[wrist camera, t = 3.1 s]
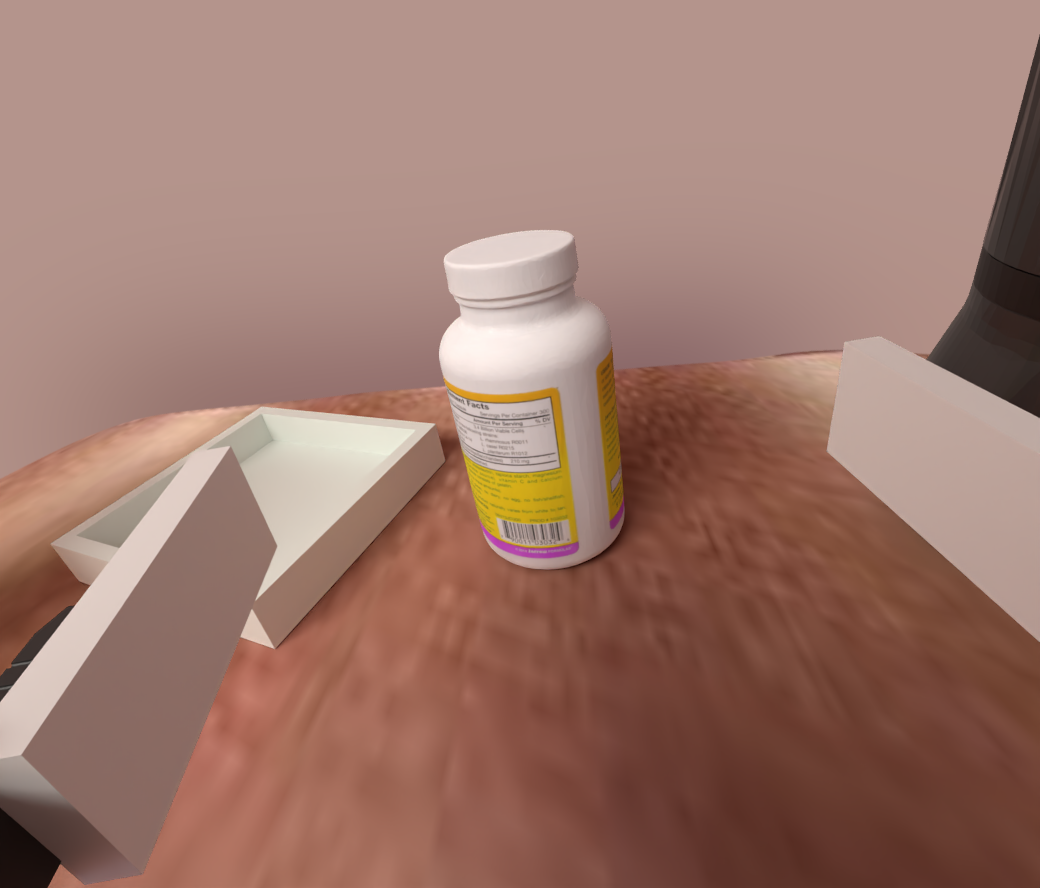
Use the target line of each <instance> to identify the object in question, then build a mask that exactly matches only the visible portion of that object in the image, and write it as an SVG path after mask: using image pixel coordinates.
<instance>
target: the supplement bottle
mask: <svg viewBox="0 0 1040 888" xmlns="http://www.w3.org/2000/svg"><path fill="white" fill-rule="evenodd" d="M444 266H445V271H446V275H447V281H448V288H449V291H450V293H451V294H452V295H454V298H455V300H456V302H458V303H459V304H460V311H461V316H460V317H459V318H457V319H456V320H455V321H454V322H453V323H452V324H451V325H450V326H449V328H448V329H447V330H446V332H445V334H444V336H443V338H442V341H441V344H440V348H439V359H440V364H441V369H442V373H443V377H444V381H445V385H446V388H447V392H448V396H449V400H450V404H451V408H452V412H453V416H454V420H455V424H456V428H457V432H458V436H459V439H460V444H461V448H462V452H463V456H464V460H465V464H466V468H467V472H468V475H469V480H470V484H471V488H472V492H473V496H474V499H475V503H476V508H477V511H478V515H479V519H480V523H481V527H482V530H483V533H484V536H485V538H486V540H487V542H488V544H489V545H490V547H491V548H492V549H493V550H494V551H495V552H496V553H497V554H498V555H500V556H501V557H503V558H504V559H506V560H508V561H509V562H511V563H514V564H516V565H519V566H523V567H526V568H532V569H545V570H550V569H560V568H566V567H570V566H574V565H577V564H580V563H582V562H585V561H587V560H589V559H591V558H593V557H595V556H597V555H598V554H600V553H601V552H602V551H604V550H605V549H606V548H607V547H609V546H610V544H611V543H612V542H613V541H614V540H615V539H616V537H617V536H618V534H619V532H620V530H621V528H622V525H623V521H624V513H625V511H624V493H623V481H622V468H621V455H620V444H619V431H618V419H617V406H616V395H615V381H614V368H613V353H612V342H611V331H610V327H609V324H608V321H607V319H606V317H605V316H604V314H603V313H602V311H601V310H600V309H599V308H598V307H597V306H596V305H594V304H593V303H592V302H590V301H588V300H586V299H584V298H581V297H578V296H575V291H574V286H573V283H574V282H575V280H576V273H577V270H578V261H577V253H576V246H575V239H574V237H573V235H572V234H570V233H568V232H565V231H560V230H532V231H522V232H514V233H508V234H502V235H497V236H493V237H488V238H484V239H480V240H477V241H474V242H471V243H468V244H465V245H463V246H460V247H458V248H456V249H454V250H452V251H451V252H449V253H448V254H447V255H446V256H445V258H444Z"/></svg>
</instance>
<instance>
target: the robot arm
mask: <svg viewBox="0 0 1040 888" xmlns="http://www.w3.org/2000/svg"><path fill="white" fill-rule="evenodd" d="M983 242H984V243H983V247H982V251H981V254H980V258H979V262H978V265H977V269H976V272H975V276H974V280H973V283H972V286H971V290H970V293H969V296H968V298H967V300H966V302H965V304H964V306H963V307H962V309H961V310H960V312H959V313H958V315H957V316H956V317H955V319H954V320H953V322H952V323H951V325H950V326H949V328H948V329H947V330H946V332H945V333H944V335H943V336H942V338H941V339H940V341H939V342H938V344H937V345H936V347H935V348H934V349H933V351H932V352H931V354H930V355H929V357H928V358H927V359H924V358H922V357H920V356H918V355H916V354H914V353H912V352H910V351H908V350H906V349H904V348H902V347H900V346H898V345H896V344H894V343H892V342H890V341H889V340H887V339H885V338H883V337H881V336H877V337H871V338H865V339H859V340H853V341H847V342H845V343H844V349H843V355H842V361H841V367H840V373H839V379H838V385H837V391H836V397H835V403H834V409H833V416H832V422H831V428H830V434H829V440H828V446H827V452H828V453H829V454H830V455H831V456H832V457H833V458H835V459H836V460H837V461H838V462H839V463H840V464H841V465H842V466H844V467H845V468H846V469H847V470H848V471H849V472H850V473H851V474H852V475H854V476H855V477H856V478H857V479H858V480H859V481H860V482H861V483H863V484H864V485H865V486H866V487H867V488H868V489H869V490H870V491H871V492H873V493H874V494H875V495H876V496H877V497H878V498H879V499H880V500H881V501H883V502H884V503H885V504H886V505H887V506H888V507H889V508H890V509H892V510H893V511H894V512H895V513H896V514H897V515H898V516H899V517H900V518H902V519H903V520H904V521H905V522H906V523H907V524H908V525H909V526H910V527H912V528H913V529H914V530H915V531H916V532H917V533H918V534H919V535H921V536H922V537H923V538H924V539H925V540H926V541H927V542H928V543H929V544H931V545H932V546H933V547H934V548H935V549H936V550H937V551H938V552H939V553H941V554H942V555H943V556H944V557H945V558H946V559H947V560H948V561H950V562H951V563H952V564H953V565H954V566H955V567H956V568H957V569H958V570H960V571H961V572H962V573H963V574H964V575H965V576H966V577H967V578H969V579H970V580H971V581H972V582H973V583H974V584H975V585H976V586H977V587H979V588H980V589H981V590H982V591H983V592H984V593H985V594H986V595H987V596H989V597H990V598H991V599H992V600H993V601H994V602H995V603H996V604H998V605H999V606H1000V607H1001V608H1002V609H1003V610H1004V611H1005V612H1006V613H1008V614H1009V615H1010V616H1011V617H1012V618H1013V619H1014V620H1015V621H1016V622H1018V623H1019V624H1020V625H1021V626H1022V627H1023V628H1024V629H1025V630H1027V631H1028V632H1029V633H1030V634H1031V635H1032V636H1033V637H1034V638H1035V639H1037V640H1038V641H1039V642H1040V37H1039V40H1038V44H1037V47H1036V51H1035V55H1034V59H1033V62H1032V66H1031V70H1030V74H1029V78H1028V81H1027V85H1026V89H1025V93H1024V96H1023V100H1022V104H1021V108H1020V112H1019V115H1018V119H1017V123H1016V127H1015V130H1014V134H1013V138H1012V142H1011V145H1010V149H1009V152H1008V156H1007V159H1006V163H1005V167H1004V170H1003V174H1002V177H1001V181H1000V184H999V188H998V192H997V195H996V198H995V202H994V206H993V209H992V213H991V216H990V220H989V223H988V227H987V230H986V234H985V237H984V241H983ZM276 549H277V544H276V542H275V540H274V537H273V535H272V533H271V531H270V529H269V527H268V525H267V522H266V520H265V518H264V516H263V514H262V512H261V510H260V507H259V505H258V503H257V501H256V499H255V497H254V495H253V492H252V490H251V488H250V486H249V484H248V482H247V479H246V477H245V475H244V473H243V471H242V469H241V467H240V464H239V462H238V460H237V458H236V456H235V454H234V452H233V449H232V447H231V446H227V447H221V448H215V449H209V450H203V451H197V452H194V453H193V454H192V455H191V457H190V458H189V459H188V461H187V462H186V463H185V465H184V466H183V467H182V468H181V470H180V471H179V472H178V474H177V475H176V476H175V477H174V479H173V480H172V481H171V483H170V484H169V485H168V486H167V488H166V489H165V490H164V492H163V493H162V494H161V495H160V497H159V498H158V499H157V501H156V502H155V503H154V505H153V506H152V507H151V508H150V510H149V511H148V512H147V514H146V515H145V516H144V517H143V519H142V520H141V521H140V523H139V524H138V525H137V526H136V528H135V529H134V530H133V532H132V533H131V534H130V535H129V537H128V538H127V539H126V541H125V542H124V543H123V544H122V546H121V547H120V548H119V550H118V551H117V552H116V554H115V555H114V556H113V557H112V559H111V560H110V561H109V563H108V564H107V565H106V566H105V568H104V569H103V570H102V572H101V573H100V574H99V575H98V577H97V578H96V579H95V581H94V582H93V583H92V584H91V586H90V587H89V588H88V590H87V591H86V592H85V594H84V595H83V596H82V597H81V599H80V600H79V601H78V603H77V604H76V605H74V606H68V607H67V608H66V609H64V610H63V611H62V612H61V613H59V614H58V615H57V616H56V617H55V618H53V619H52V620H51V621H50V622H49V623H47V624H46V625H45V626H44V627H43V628H41V629H40V630H39V631H38V632H36V633H35V634H34V636H33V637H32V638H31V639H30V641H29V642H28V643H27V644H26V645H25V647H24V648H23V649H22V650H21V652H20V653H19V654H18V655H17V657H16V658H15V659H14V660H13V661H12V663H11V664H12V667H11V668H9V669H6V670H5V671H4V673H3V674H2V675H1V676H0V888H48V886H49V884H50V882H51V880H52V878H53V876H54V874H55V872H56V870H57V869H58V867H59V865H60V864H61V865H62V866H64V867H65V868H66V869H67V870H68V871H69V872H71V873H72V874H73V875H74V876H75V877H76V878H77V879H79V880H80V881H81V882H82V883H83V884H84V885H87V884H92V883H98V882H103V881H109V880H114V879H120V878H125V877H131V876H136V875H142V874H143V873H144V870H145V868H146V865H147V863H148V860H149V858H150V855H151V853H152V851H153V848H154V846H155V843H156V841H157V838H158V836H159V834H160V831H161V829H162V826H163V824H164V821H165V819H166V817H167V814H168V812H169V809H170V807H171V804H172V802H173V799H174V797H175V795H176V792H177V790H178V787H179V785H180V782H181V780H182V778H183V775H184V773H185V770H186V768H187V765H188V763H189V761H190V758H191V756H192V753H193V751H194V748H195V746H196V743H197V741H198V739H199V736H200V734H201V731H202V729H203V726H204V724H205V722H206V719H207V717H208V714H209V712H210V709H211V707H212V705H213V702H214V700H215V697H216V695H217V692H218V690H219V687H220V685H221V683H222V680H223V678H224V675H225V673H226V670H227V668H228V666H229V663H230V661H231V658H232V656H233V653H234V651H235V649H236V646H237V644H238V641H239V639H240V636H241V634H242V632H243V629H244V627H245V624H246V622H247V619H248V617H249V614H250V612H251V610H252V607H253V605H254V602H255V600H256V597H257V595H258V593H259V590H260V588H261V585H262V583H263V580H264V578H265V576H266V573H267V571H268V568H269V566H270V563H271V561H272V558H273V556H274V554H275V551H276Z"/></svg>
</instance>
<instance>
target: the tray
mask: <svg viewBox="0 0 1040 888" xmlns="http://www.w3.org/2000/svg"><path fill="white" fill-rule="evenodd" d="M227 446H231V447H232V449H233V452H234V454H235V456H236V458H237V460H238V462H239V464H240V467H241V469H242V471H243V473H244V475H245V477H246V479H247V482H248V484H249V486H250V488H251V490H252V492H253V495H254V497H255V499H256V501H257V503H258V505H259V507H260V510H261V512H262V514H263V516H264V518H265V520H266V522H267V525H268V527H269V529H270V531H271V533H272V535H273V537H274V540H275V542H276V544H277V549H276V551H275V554H274V556H273V558H272V561H271V563H270V566H269V568H268V571H267V573H266V576H265V578H264V580H263V583H262V585H261V588H260V590H259V593H258V595H257V597H256V600H255V602H254V605H253V607H252V610H251V612H250V614H249V617H248V619H247V622H246V624H245V627H244V629H243V632H242V634H241V636H240V637H242V638H245V639H248V640H250V641H253V642H256V643H259V644H262V645H265V646H268V647H271V648H274V649H276V647H277V646H278V645H279V644H280V643H281V642H282V641H283V640H284V639H285V637H286V636H287V635H288V634H289V633H290V632H291V631H292V630H293V629H294V628H295V626H296V625H297V624H298V623H299V622H300V621H301V620H302V619H303V618H304V617H305V615H306V614H307V613H308V612H309V611H310V610H311V609H312V608H313V607H314V605H315V604H316V603H317V602H318V601H319V600H320V599H321V598H322V597H323V596H324V594H325V593H326V592H327V591H328V590H329V589H330V588H331V587H332V586H333V585H334V583H335V582H336V581H337V580H338V579H339V578H340V577H341V576H342V575H343V574H344V572H345V571H346V570H347V569H348V568H349V567H350V566H351V565H352V564H353V562H354V561H355V560H356V559H357V558H358V557H359V556H360V555H361V554H362V553H363V551H364V550H365V549H366V548H367V547H368V546H369V545H370V544H371V543H372V542H373V540H374V539H375V538H376V537H377V536H378V535H379V534H380V533H381V532H382V530H383V529H384V528H385V527H386V526H387V525H388V524H389V523H390V522H391V521H392V519H393V518H394V517H395V516H396V515H397V514H398V513H399V512H400V511H401V510H402V508H403V507H404V506H405V505H406V504H407V503H408V502H409V501H410V500H411V498H412V497H413V496H414V495H415V494H416V493H417V492H418V491H419V490H420V489H421V487H422V486H423V485H424V484H425V483H426V482H427V481H428V480H429V479H430V478H431V476H432V475H433V474H434V473H435V472H436V471H437V470H438V469H439V468H440V467H441V465H442V464H443V463H444V462H445V457H444V454H443V450H442V446H441V442H440V438H439V435H438V431H437V427H436V424H432V423H421V422H411V421H401V420H391V419H381V418H371V417H361V416H350V415H340V414H330V413H320V412H310V411H300V410H290V409H280V408H269V407H260V408H259V409H257V410H256V411H254V412H253V413H251V414H250V415H248V416H247V417H245V418H243V419H242V420H240V421H239V422H237V423H236V424H234V425H233V426H231V427H230V428H228V429H226V430H225V431H223V432H222V433H220V434H219V435H217V436H216V437H214V438H213V439H211V440H209V441H208V442H206V443H205V444H203V445H202V446H200V447H199V448H197V449H196V450H194V451H193V452H191V453H189V454H188V455H186V456H185V457H183V458H182V459H180V460H179V461H177V462H176V463H174V464H172V465H171V466H169V467H168V468H166V469H165V470H163V471H162V472H160V473H159V474H157V475H155V476H154V477H152V478H151V479H149V480H148V481H146V482H145V483H143V484H142V485H140V486H138V487H137V488H135V489H134V490H132V491H131V492H129V493H128V494H126V495H125V496H123V497H121V498H120V499H118V500H117V501H115V502H114V503H112V504H111V505H109V506H108V507H106V508H104V509H103V510H101V511H100V512H98V513H97V514H95V515H94V516H92V517H91V518H89V519H87V520H86V521H84V522H83V523H81V524H80V525H78V526H77V527H75V528H74V529H72V530H70V531H69V532H67V533H66V534H64V535H63V536H61V537H60V538H58V539H57V540H55V541H53V542H52V543H50V544H51V546H52V547H53V548H54V550H55V551H56V552H57V554H58V555H59V556H60V557H61V559H62V560H63V561H64V563H65V564H66V565H67V566H68V568H69V569H70V570H71V572H72V573H73V574H74V576H75V577H76V578H77V579H78V581H80V582H83V583H85V584H88V585H91V584H92V583H93V582H94V581H95V579H96V578H97V577H98V575H99V574H100V573H101V572H102V570H103V569H104V568H105V566H106V565H107V564H108V563H109V561H110V560H111V559H112V557H113V556H114V555H115V554H116V552H117V551H118V550H119V548H120V547H121V546H122V544H123V543H124V542H125V541H126V539H127V538H128V537H129V535H130V534H131V533H132V532H133V530H134V529H135V528H136V526H137V525H138V524H139V523H140V521H141V520H142V519H143V517H144V516H145V515H146V514H147V512H148V511H149V510H150V508H151V507H152V506H153V505H154V503H155V502H156V501H157V499H158V498H159V497H160V495H161V494H162V493H163V492H164V490H165V489H166V488H167V486H168V485H169V484H170V483H171V481H172V480H173V479H174V477H175V476H176V475H177V474H178V472H179V471H180V470H181V468H182V467H183V466H184V465H185V463H186V462H187V461H188V459H189V458H190V457H191V455H192V454H193V453H194V452H197V451H203V450H209V449H215V448H221V447H227Z"/></svg>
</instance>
